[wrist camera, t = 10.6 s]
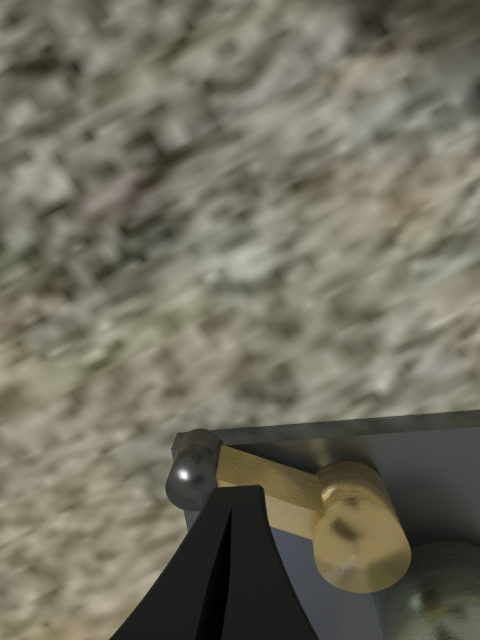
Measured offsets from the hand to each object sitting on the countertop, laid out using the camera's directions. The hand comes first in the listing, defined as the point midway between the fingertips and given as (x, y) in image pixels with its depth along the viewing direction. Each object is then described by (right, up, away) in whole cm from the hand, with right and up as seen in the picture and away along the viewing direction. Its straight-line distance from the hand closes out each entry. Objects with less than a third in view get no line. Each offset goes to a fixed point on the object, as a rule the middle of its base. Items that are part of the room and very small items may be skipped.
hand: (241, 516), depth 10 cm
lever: (+2, -1, +5) cm, 6 cm away
